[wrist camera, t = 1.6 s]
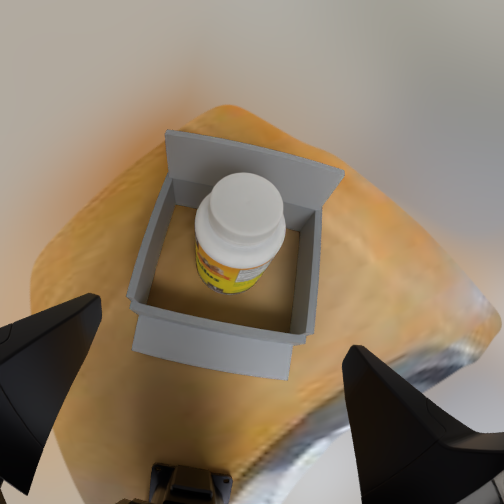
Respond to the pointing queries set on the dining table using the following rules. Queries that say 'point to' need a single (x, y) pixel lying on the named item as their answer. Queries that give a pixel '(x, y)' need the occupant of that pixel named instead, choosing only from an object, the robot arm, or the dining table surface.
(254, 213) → the supplement bottle
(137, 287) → the carton
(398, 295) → the dining table surface
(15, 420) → the robot arm
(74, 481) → the dining table surface
